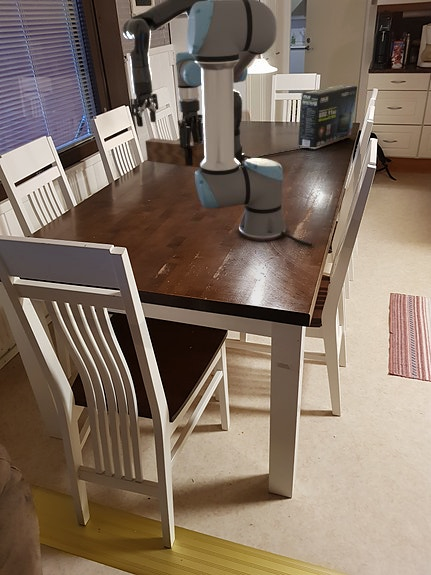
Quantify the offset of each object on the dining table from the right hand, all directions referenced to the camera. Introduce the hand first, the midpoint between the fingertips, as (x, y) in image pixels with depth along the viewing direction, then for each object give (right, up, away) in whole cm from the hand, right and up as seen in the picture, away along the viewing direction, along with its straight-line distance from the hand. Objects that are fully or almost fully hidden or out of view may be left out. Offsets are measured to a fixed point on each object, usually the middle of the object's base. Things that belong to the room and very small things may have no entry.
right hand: (193, 163), depth 179 cm
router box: (+67, +28, +65) cm, 98 cm away
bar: (-7, +1, +4) cm, 8 cm away
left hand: (-18, +16, +3) cm, 25 cm away
